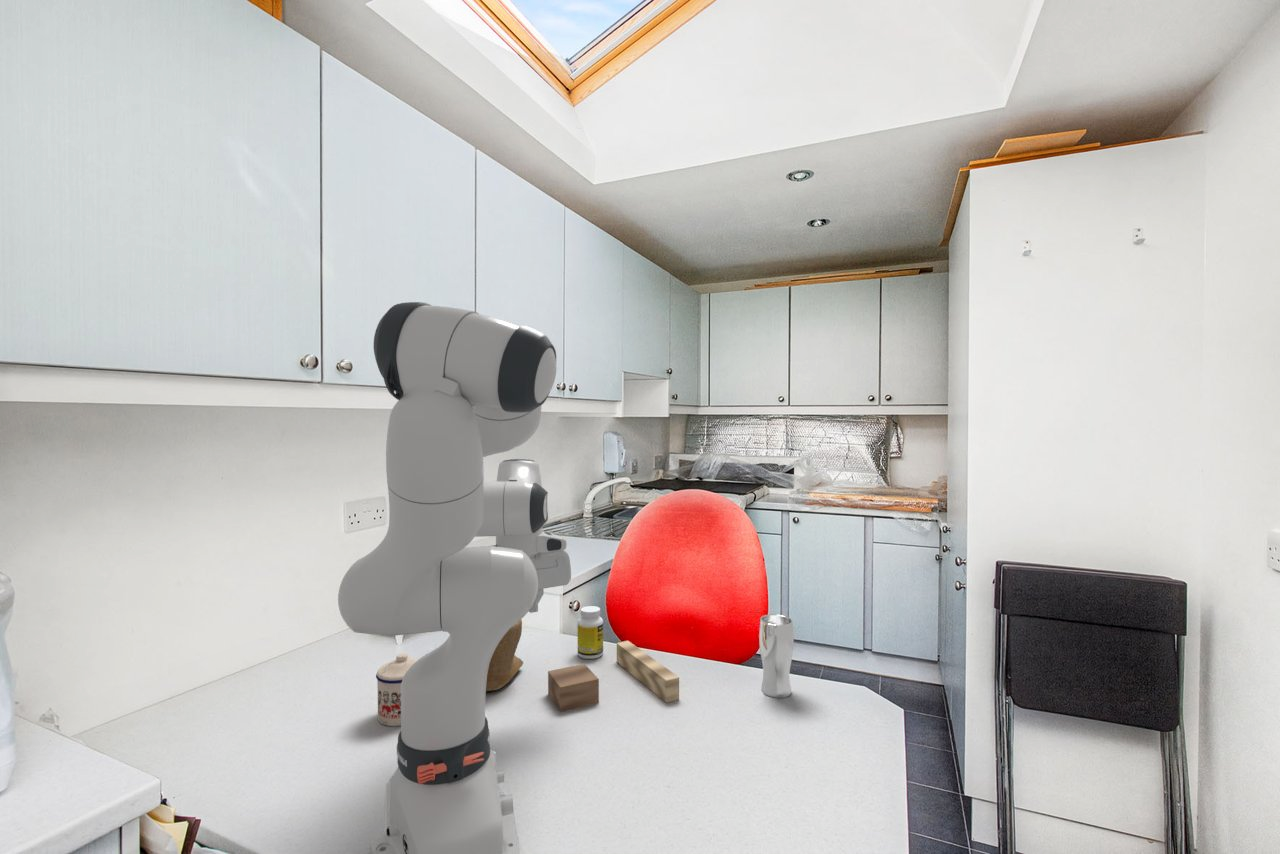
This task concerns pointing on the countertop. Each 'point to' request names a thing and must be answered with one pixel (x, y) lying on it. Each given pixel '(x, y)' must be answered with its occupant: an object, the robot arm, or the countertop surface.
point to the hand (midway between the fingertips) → (519, 613)
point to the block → (573, 687)
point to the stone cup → (505, 659)
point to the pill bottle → (590, 633)
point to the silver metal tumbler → (776, 654)
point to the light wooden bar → (648, 671)
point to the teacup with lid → (391, 689)
